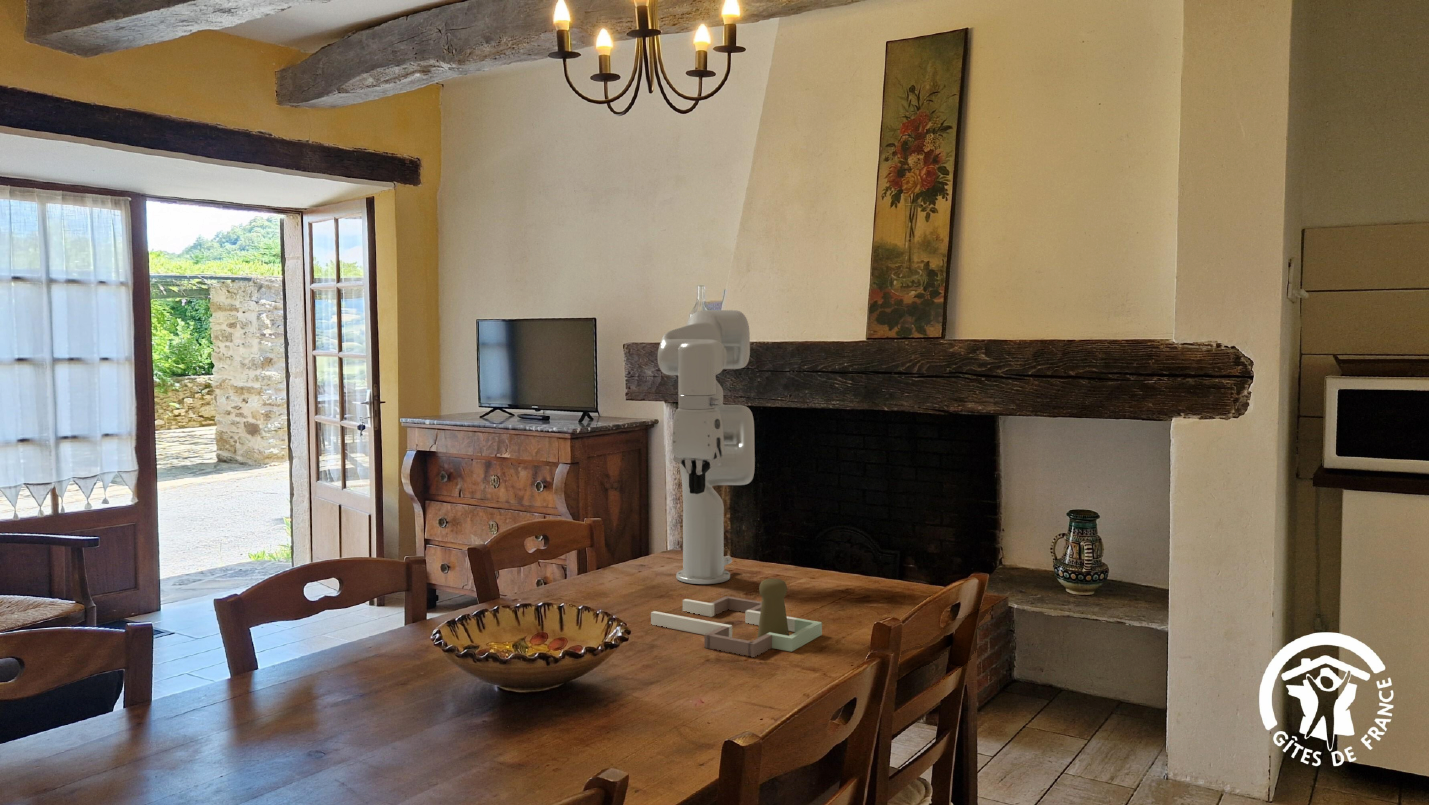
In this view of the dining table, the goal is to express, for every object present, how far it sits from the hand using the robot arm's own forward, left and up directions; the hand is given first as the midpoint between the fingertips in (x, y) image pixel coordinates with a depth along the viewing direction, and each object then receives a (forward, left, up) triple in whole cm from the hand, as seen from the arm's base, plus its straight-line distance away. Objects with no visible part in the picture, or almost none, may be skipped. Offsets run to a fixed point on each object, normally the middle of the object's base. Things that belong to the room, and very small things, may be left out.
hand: (697, 492), depth 201 cm
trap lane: (+6, +12, -25) cm, 28 cm away
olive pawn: (+6, +22, -25) cm, 34 cm away
